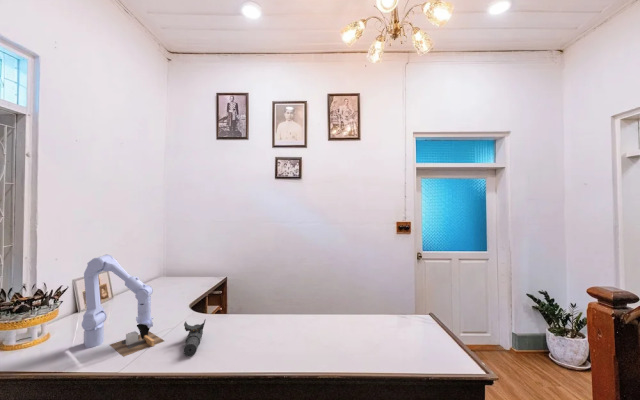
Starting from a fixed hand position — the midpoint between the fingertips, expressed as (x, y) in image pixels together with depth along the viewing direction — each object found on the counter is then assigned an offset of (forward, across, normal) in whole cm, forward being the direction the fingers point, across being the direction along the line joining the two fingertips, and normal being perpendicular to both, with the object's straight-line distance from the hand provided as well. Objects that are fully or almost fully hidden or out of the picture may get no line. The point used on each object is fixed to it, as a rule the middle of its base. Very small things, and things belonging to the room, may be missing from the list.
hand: (144, 338), depth 143 cm
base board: (+2, 0, +3) cm, 4 cm away
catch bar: (+1, -6, 0) cm, 6 cm away
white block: (+1, +1, +5) cm, 5 cm away
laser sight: (+2, -23, -14) cm, 27 cm away
